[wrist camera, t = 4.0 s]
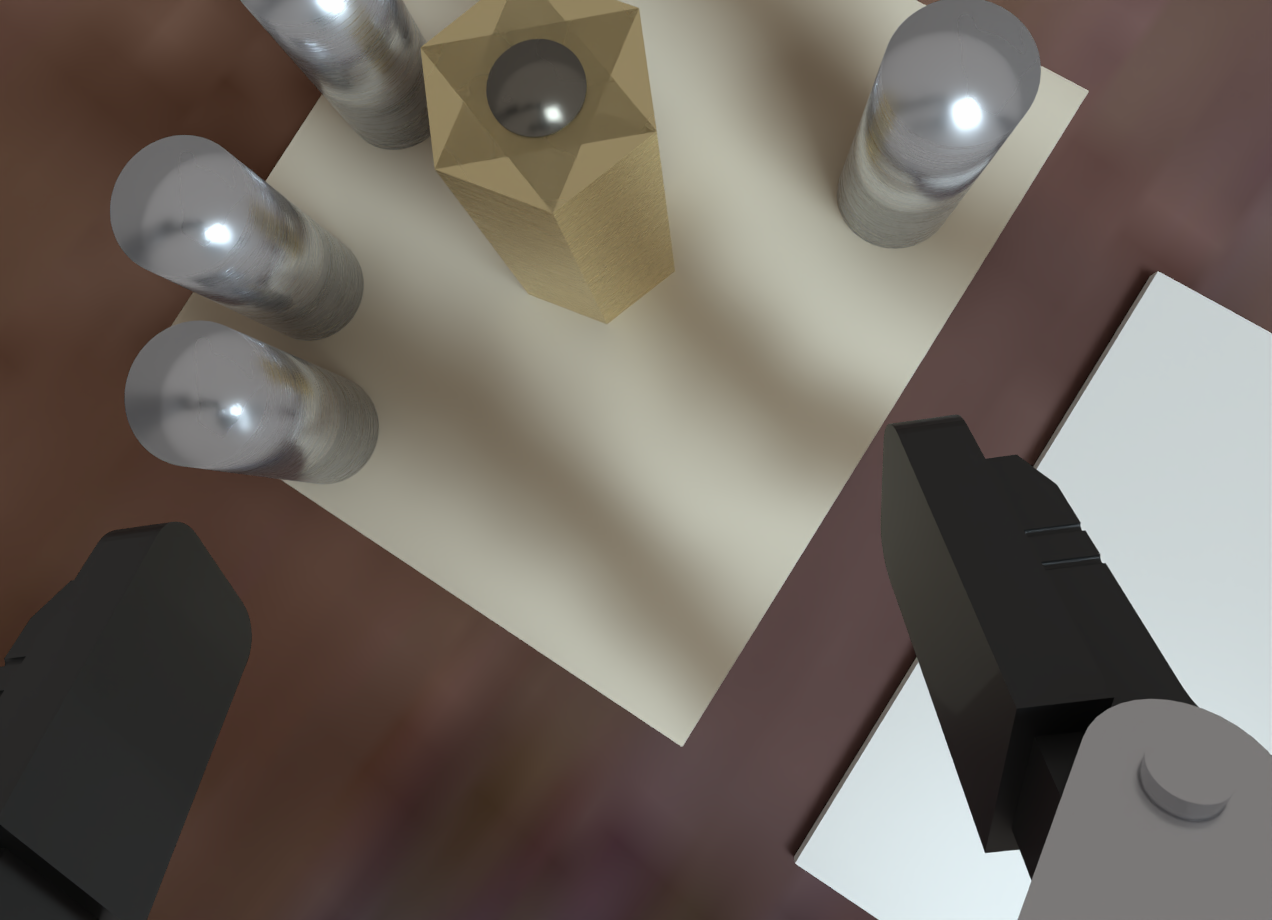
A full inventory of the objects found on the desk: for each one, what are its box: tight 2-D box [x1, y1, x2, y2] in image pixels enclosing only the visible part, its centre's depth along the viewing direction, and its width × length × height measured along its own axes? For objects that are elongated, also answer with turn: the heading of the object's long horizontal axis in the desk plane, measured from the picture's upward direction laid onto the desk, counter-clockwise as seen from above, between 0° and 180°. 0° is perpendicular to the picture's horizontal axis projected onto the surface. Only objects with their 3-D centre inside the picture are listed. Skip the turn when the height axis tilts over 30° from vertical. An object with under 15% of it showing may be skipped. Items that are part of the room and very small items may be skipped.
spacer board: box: [172, 0, 1089, 747], centre depth 24 cm, size 20×18×1 cm
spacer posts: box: [110, 0, 1041, 484], centre depth 20 cm, size 16×16×6 cm
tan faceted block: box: [420, 0, 675, 324], centre depth 19 cm, size 5×4×8 cm
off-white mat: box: [794, 271, 1272, 920], centre depth 22 cm, size 18×10×1 cm, turn 148°
